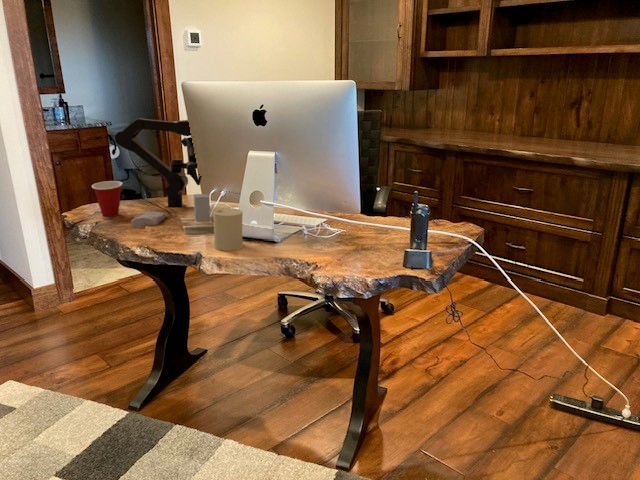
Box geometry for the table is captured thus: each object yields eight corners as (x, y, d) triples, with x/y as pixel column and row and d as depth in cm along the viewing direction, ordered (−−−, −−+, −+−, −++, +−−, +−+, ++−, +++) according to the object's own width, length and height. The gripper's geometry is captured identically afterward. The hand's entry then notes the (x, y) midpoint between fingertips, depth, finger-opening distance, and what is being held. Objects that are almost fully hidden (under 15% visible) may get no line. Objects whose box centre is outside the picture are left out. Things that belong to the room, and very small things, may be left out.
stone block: (130, 233, 182) (158, 228, 181) (127, 220, 181) (154, 215, 180) (142, 225, 193) (168, 220, 193) (139, 212, 192) (165, 208, 191)
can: (217, 241, 170) (217, 206, 167) (245, 242, 170) (245, 207, 166) (210, 250, 162) (209, 213, 158) (239, 252, 161) (239, 214, 158)
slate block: (194, 218, 192) (193, 194, 189) (208, 217, 193) (207, 193, 191) (195, 221, 187) (195, 197, 185) (209, 220, 189) (209, 196, 186)
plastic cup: (88, 214, 195) (85, 183, 191) (113, 209, 203) (110, 179, 200) (106, 220, 189) (103, 187, 185) (131, 214, 198) (128, 183, 194)
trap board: (180, 221, 191) (180, 212, 190) (221, 219, 196) (221, 211, 195) (185, 237, 173) (184, 228, 172) (229, 234, 178) (229, 225, 177)
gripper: (170, 137, 191) (173, 172, 185) (220, 138, 197) (225, 171, 191) (169, 155, 201) (172, 189, 194) (218, 155, 207) (222, 188, 200)
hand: (198, 184), depth 194 cm, fingers closed
